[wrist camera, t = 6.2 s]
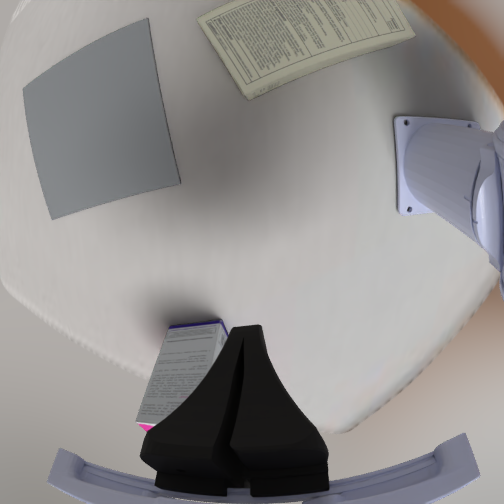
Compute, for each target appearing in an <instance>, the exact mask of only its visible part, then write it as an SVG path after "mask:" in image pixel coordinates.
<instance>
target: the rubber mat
mask: <svg viewBox="0 0 504 504" xmlns="http://www.w3.org/2000/svg"><path fill="white" fill-rule="evenodd" d="M23 97H24V105H25V113H26V120H27V126H28V132H29V137H30V143H31V147H32V152H33V157H34V161H35V165H36V169H37V173H38V177H39V180H40V184H41V187H42V191H43V194H44V197H45V201H46V204H47V207H48V210H49V213H50V216H51V219H52V220H54V219H57V218H60V217H63V216H66V215H69V214H72V213H75V212H78V211H81V210H84V209H88V208H91V207H94V206H97V205H101V204H104V203H108V202H111V201H115V200H118V199H122V198H125V197H129V196H133V195H136V194H140V193H144V192H148V191H152V190H156V189H160V188H164V187H168V186H173V185H177V184H181V182H180V177H179V173H178V169H177V165H176V161H175V157H174V152H173V148H172V143H171V139H170V134H169V130H168V125H167V121H166V116H165V111H164V106H163V101H162V96H161V91H160V86H159V80H158V75H157V69H156V64H155V58H154V52H153V46H152V39H151V33H150V26H149V19H148V18H146V19H143V20H140V21H138V22H135V23H133V24H131V25H128V26H126V27H124V28H121V29H119V30H117V31H115V32H113V33H111V34H109V35H106V36H104V37H102V38H100V39H99V40H97V41H95V42H93V43H91V44H89V45H87V46H85V47H84V48H82V49H80V50H78V51H77V52H75V53H73V54H72V55H70V56H68V57H67V58H65V59H63V60H62V61H60V62H59V63H57V64H56V65H54V66H53V67H51V68H50V69H48V70H47V71H45V72H44V73H43V74H41V75H40V76H38V77H37V78H36V79H34V80H33V81H32V82H30V83H29V84H28V85H26V86H25V87H24V88H23Z"/></svg>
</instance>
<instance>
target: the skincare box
mask: <svg viewBox="0 0 504 504" xmlns="http://www.w3.org/2000/svg"><path fill="white" fill-rule="evenodd" d="M196 20H197V22H198V24H199V26H200V27H201V29H202V30H203V32H204V34H205V35H206V37H207V38H208V40H209V41H210V43H211V44H212V46H213V47H214V49H215V50H216V52H217V54H218V55H219V57H220V58H221V60H222V62H223V63H224V65H225V66H226V68H227V70H228V71H229V73H230V75H231V76H232V78H233V79H234V81H235V83H236V84H237V86H238V88H239V89H240V91H241V93H242V95H243V96H244V98H245V99H247V100H248V101H249V100H252V99H253V98H256V97H258V96H260V95H262V94H264V93H266V92H268V91H270V90H272V89H275V88H277V87H279V86H281V85H283V84H286V83H288V82H290V81H293V80H295V79H297V78H300V77H302V76H305V75H307V74H310V73H312V72H315V71H317V70H320V69H323V68H325V67H328V66H331V65H333V64H336V63H339V62H342V61H345V60H348V59H351V58H354V57H357V56H360V55H363V54H367V53H370V52H373V51H377V50H380V49H384V48H388V47H391V46H394V45H397V44H399V43H402V42H404V41H406V40H409V39H411V38H413V37H415V36H416V35H415V33H414V32H413V30H412V28H411V26H410V25H409V23H408V21H407V19H406V18H405V16H404V14H403V13H402V11H401V9H400V8H399V6H398V4H397V3H396V1H395V0H234V1H231V2H229V3H227V4H225V5H223V6H220V7H218V8H216V9H214V10H212V11H210V12H208V13H206V14H204V15H202V16H200V17H198V18H197V19H196Z"/></svg>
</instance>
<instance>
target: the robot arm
mask: <svg viewBox="0 0 504 504" xmlns="http://www.w3.org/2000/svg"><path fill="white" fill-rule="evenodd" d="M405 120H406V121H407V125H406V126H405V124H404V121H405ZM468 125H469V128H468ZM394 129H395V140H396V155H397V178H398V212H399V214H401V215H402V216H407V215H415V214H423V213H431V212H435V213H436V214H438V215H439V216H440V217H442V218H443V219H445V220H446V221H448V222H449V223H450V224H452V225H453V226H455V227H456V228H457V229H459V230H460V231H461V232H463V233H464V234H465V235H467V236H468V237H469V238H471V239H472V240H473V241H474V242H476V243H477V244H478V245H479V246H481V247H482V248H483V249H484V250H485V251H486V252H487V253H488V255H489V262H490V263H491V264H492V265H493V266H494V267H495V268H496V269H497V270H498V271H499V272H501V275H500V291H501V296H502V298H503V301H504V121H503V122H501V124H500V125H499V127H498V128H497V129H496V130H495V131H494V133H493V132H489V131H484V130H480V125H479V124H478V122H474V121H466V120H457V119H446V118H432V117H411V116H397V117H396V118H395V119H394ZM408 207H410V210H409V211H407V208H408ZM328 455H329V453H328V449H327V446H326V444H325V442H324V440H323V439H322V437H321V435H320V434H319V432H318V430H317V428H316V427H315V426H314V425H313V424H312V423H311V422H310V420H309V419H308V418H307V417H306V416H305V415H304V414H303V412H302V411H301V410H300V409H299V408H298V406H297V405H296V403H295V402H294V401H293V399H292V398H291V397H290V395H289V394H288V392H287V391H286V389H285V388H284V386H283V384H282V383H281V381H280V379H279V377H278V376H277V374H276V372H275V370H274V368H273V366H272V363H271V361H270V359H269V356H268V354H267V349H266V344H265V339H264V335H263V330H262V326H261V325H250V326H240V327H233V328H232V329H231V331H230V334H229V336H228V338H227V340H226V342H225V344H224V346H223V348H222V350H221V351H220V353H219V355H218V357H217V358H216V360H215V362H214V363H213V365H212V367H211V368H210V370H209V371H208V373H207V374H206V376H205V377H204V378H203V380H202V381H201V382H200V384H199V385H198V386H197V387H196V389H195V390H194V391H193V392H192V393H191V394H190V395H189V396H188V398H187V399H186V400H185V401H184V402H183V403H182V404H181V405H180V406H179V407H177V408H176V409H175V410H174V411H173V412H172V413H171V414H170V415H168V416H167V417H166V418H165V419H163V420H162V421H161V422H159V423H158V424H156V425H155V426H154V427H152V428H151V429H149V430H148V431H147V434H146V436H145V438H144V441H143V445H142V449H141V453H140V458H141V459H142V460H143V461H144V462H145V463H146V464H148V465H149V466H150V467H152V468H153V469H155V470H156V471H157V475H156V479H155V480H153V479H148V478H143V477H139V476H135V475H130V474H126V473H123V472H119V471H115V470H112V469H108V468H104V467H101V466H98V465H95V464H92V463H89V462H86V461H84V459H82V458H81V457H79V456H78V455H76V454H74V453H72V452H69V451H67V450H64V449H62V448H59V451H58V453H57V455H56V458H55V461H54V463H53V466H52V469H51V471H50V475H49V477H48V480H47V483H48V484H50V485H52V486H54V487H55V488H57V489H59V490H61V491H62V492H64V493H66V494H68V495H71V496H72V497H74V498H76V499H78V500H80V501H83V502H85V503H87V504H211V503H201V502H192V501H184V500H177V499H175V498H180V499H187V500H194V501H204V502H215V503H232V504H269V503H285V502H286V503H287V502H298V501H303V502H302V504H431V503H433V502H435V501H438V500H440V499H442V498H444V497H446V496H448V495H450V494H452V493H454V492H456V491H458V490H459V489H461V488H463V487H465V486H466V485H468V484H470V483H471V482H473V481H474V480H476V479H478V478H479V477H480V472H479V469H478V466H477V463H476V460H475V457H474V454H473V452H472V449H471V446H470V444H469V441H468V438H467V436H466V433H462V434H460V435H458V436H456V437H454V438H452V439H450V440H447V441H445V442H443V443H442V444H440V445H438V446H437V447H436V448H435V450H434V451H433V452H430V453H428V454H425V455H423V456H421V457H418V458H415V459H412V460H409V461H407V462H404V463H401V464H398V465H395V466H392V467H389V468H385V469H381V470H378V471H374V472H370V473H366V474H363V475H358V476H354V477H349V478H345V479H340V480H334V481H329V477H328V464H327V461H328ZM167 496H168V497H167ZM171 497H173V498H171Z"/></svg>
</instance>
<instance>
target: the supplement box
mask: <svg viewBox="0 0 504 504" xmlns="http://www.w3.org/2000/svg"><path fill="white" fill-rule="evenodd" d="M227 338H228V333H227V331H226V329H225V327H224V324H223V322H222V320H221V319H220V320H212V321H206V322H198V323H191V324H182V325H174V326H170V327H169V329H168V332H167V334H166V337H165V340H164V342H163V345H162V347H161V350H160V353H159V356H158V358H157V361H156V364H155V366H154V369H153V372H152V375H151V378H150V380H149V383H148V386H147V389H146V392H145V395H144V398H143V401H142V403H141V406H140V409H139V412H138V415H137V418H136V423H138V424H139V425H140V426H141V427H142V428H143V429H144V430H145V431H148V430H149V429H151V428H152V427H154V426H155V425H156V424H158V423H159V422H161V421H162V420H163V419H165V418H166V417H167V416H168V415H170V414H171V413H172V412H173V411H174V410H175V409H176V408H177V407H179V406H180V405H181V404H182V403H183V402H184V401H185V400H186V399H187V398H188V396H189V395H190V394H191V393H192V392H193V391H194V390H195V389H196V387H197V386H198V385H199V384H200V382H201V381H202V380H203V378H204V377H205V376H206V374H207V373H208V371H209V370H210V368H211V367H212V365H213V363H214V362H215V360H216V358H217V357H218V355H219V353H220V351H221V350H222V348H223V346H224V344H225V342H226V340H227Z"/></svg>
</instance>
